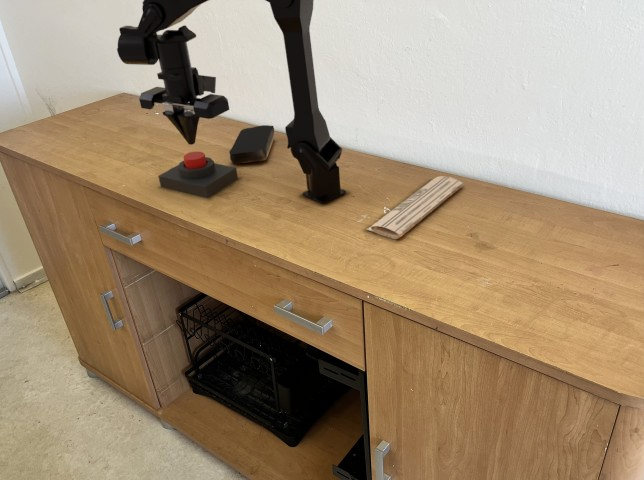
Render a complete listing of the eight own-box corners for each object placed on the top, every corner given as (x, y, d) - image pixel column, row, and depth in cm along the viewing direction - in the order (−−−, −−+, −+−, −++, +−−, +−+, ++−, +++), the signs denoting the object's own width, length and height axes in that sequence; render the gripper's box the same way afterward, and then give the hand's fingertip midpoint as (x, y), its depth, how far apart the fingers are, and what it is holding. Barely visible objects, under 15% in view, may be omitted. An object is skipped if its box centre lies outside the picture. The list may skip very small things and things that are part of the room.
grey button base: (238, 179, 132) (235, 159, 129) (208, 198, 125) (203, 178, 122) (192, 169, 138) (188, 150, 135) (161, 187, 131) (156, 167, 128)
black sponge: (267, 165, 137) (264, 150, 134) (229, 167, 137) (226, 151, 135) (276, 138, 150) (275, 123, 148) (242, 139, 150) (240, 125, 148)
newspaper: (399, 240, 107) (399, 231, 106) (366, 230, 111) (365, 221, 110) (462, 188, 122) (463, 180, 121) (431, 181, 125) (431, 172, 124)
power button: (210, 162, 129) (209, 153, 128) (197, 171, 126) (195, 161, 125) (195, 159, 131) (193, 150, 130) (181, 167, 128) (178, 157, 127)
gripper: (240, 58, 118) (251, 136, 127) (168, 50, 127) (184, 124, 136) (202, 74, 111) (217, 156, 120) (128, 65, 119) (148, 142, 128)
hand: (191, 143), depth 126 cm, fingers closed
